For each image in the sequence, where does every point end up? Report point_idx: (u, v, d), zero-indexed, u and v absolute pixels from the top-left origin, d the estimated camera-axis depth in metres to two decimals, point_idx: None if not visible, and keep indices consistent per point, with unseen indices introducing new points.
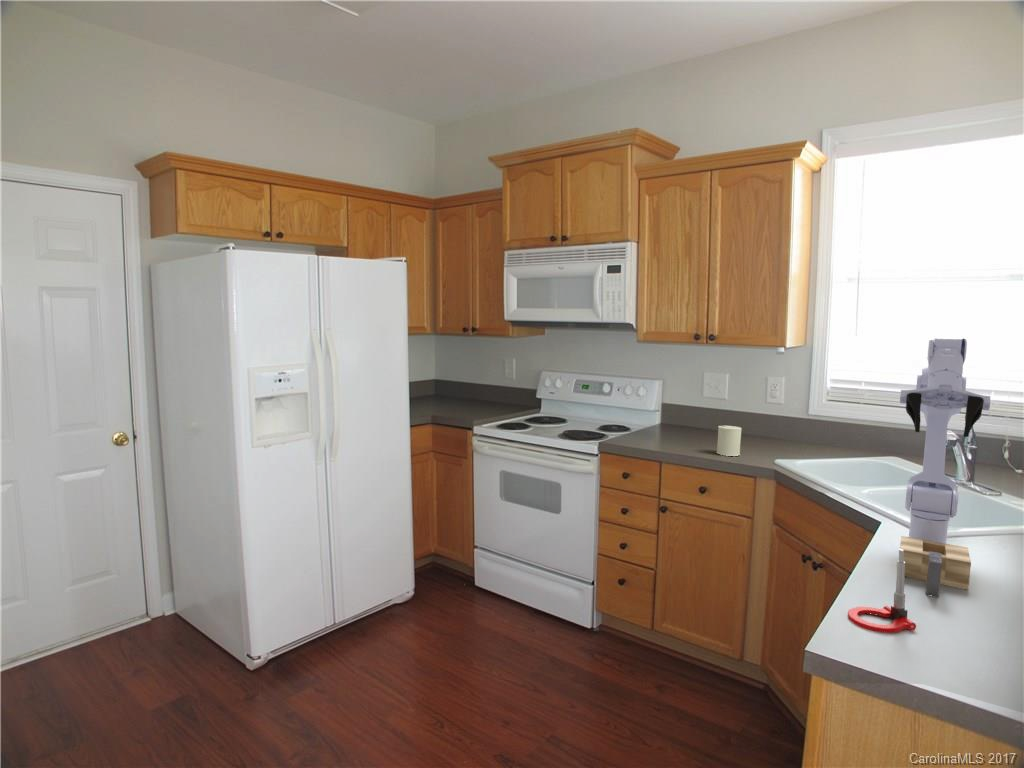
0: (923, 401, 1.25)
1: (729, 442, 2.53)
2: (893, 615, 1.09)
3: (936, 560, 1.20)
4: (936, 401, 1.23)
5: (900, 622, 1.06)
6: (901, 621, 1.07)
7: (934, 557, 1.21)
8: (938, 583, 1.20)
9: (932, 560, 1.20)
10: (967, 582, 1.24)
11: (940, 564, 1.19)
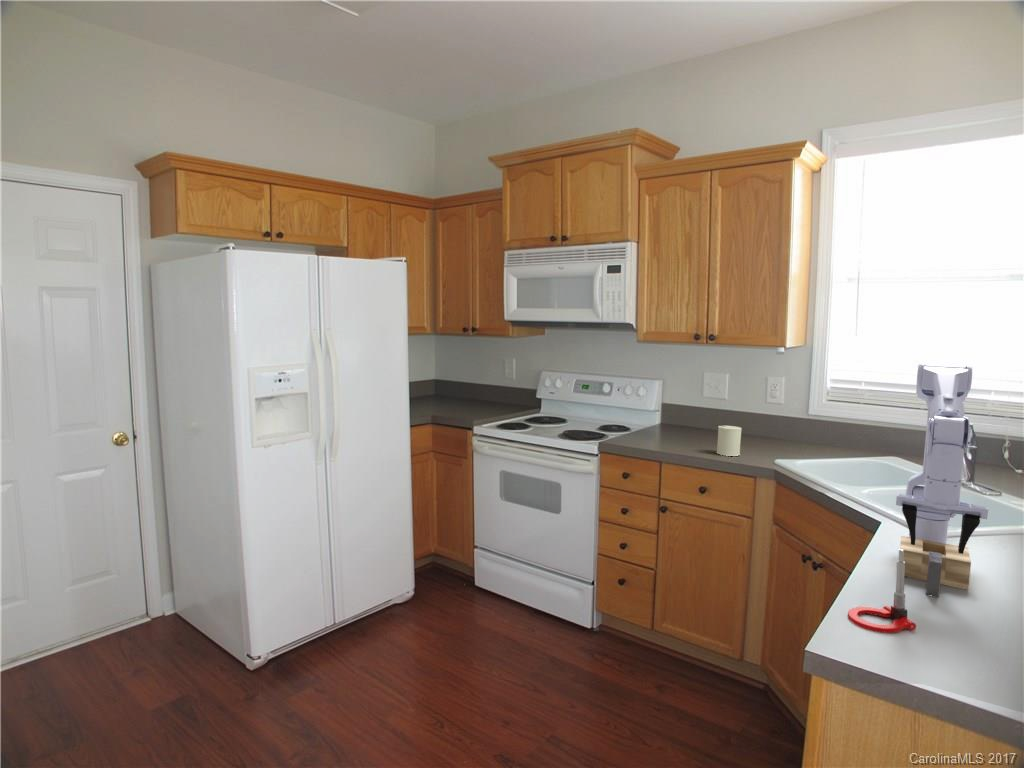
0: None
1: (729, 442, 2.53)
2: (893, 615, 1.09)
3: (936, 560, 1.20)
4: (932, 509, 1.21)
5: (900, 622, 1.06)
6: (901, 621, 1.07)
7: (934, 557, 1.21)
8: (938, 583, 1.20)
9: (932, 560, 1.20)
10: (967, 582, 1.24)
11: (940, 564, 1.19)
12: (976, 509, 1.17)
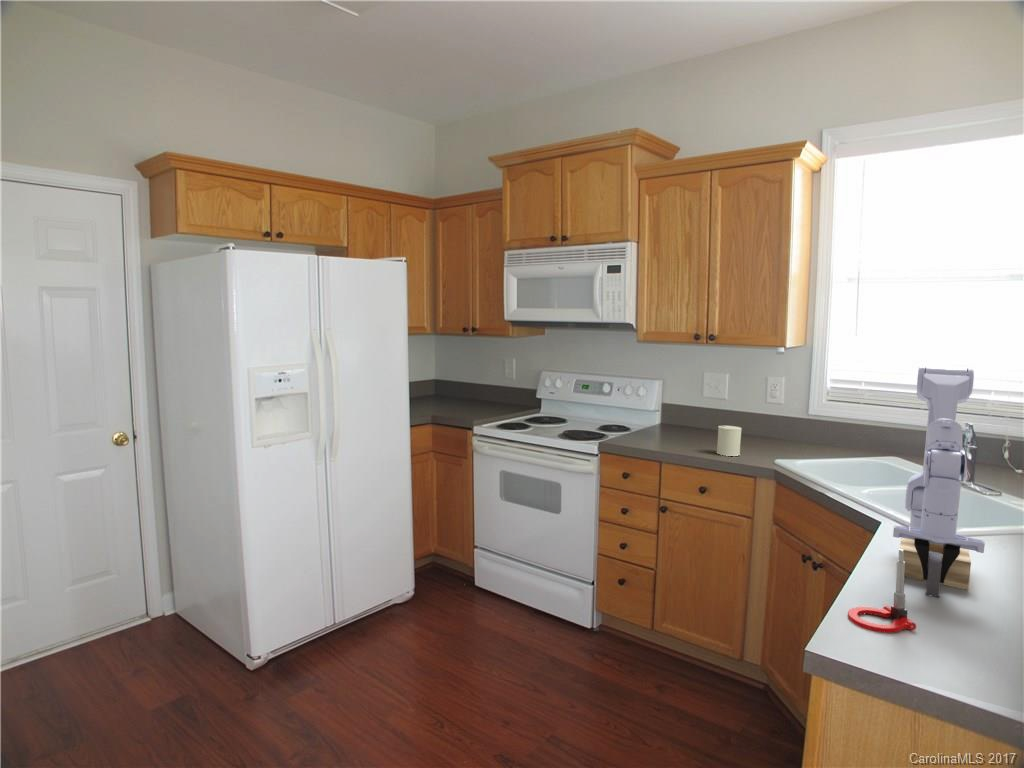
0: None
1: (729, 442, 2.53)
2: (893, 615, 1.09)
3: (936, 560, 1.20)
4: (929, 541, 1.22)
5: (900, 622, 1.06)
6: (901, 621, 1.07)
7: (934, 557, 1.21)
8: (938, 583, 1.20)
9: (932, 560, 1.20)
10: (967, 582, 1.24)
11: (940, 564, 1.18)
12: (973, 543, 1.17)
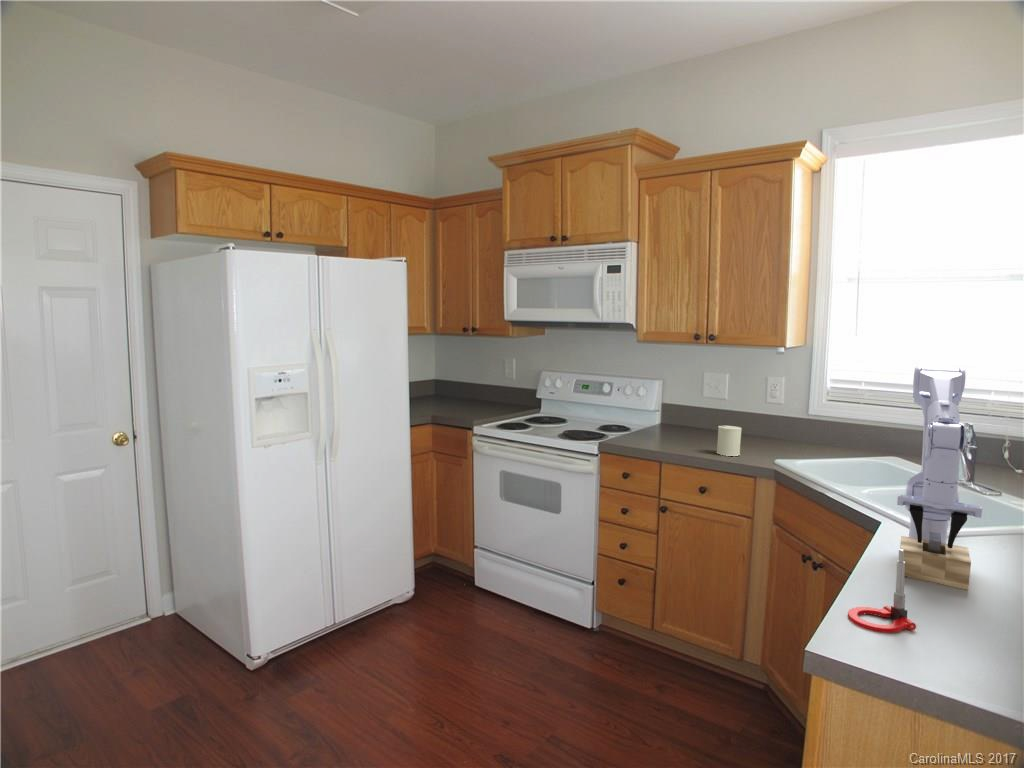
0: None
1: (729, 442, 2.53)
2: (893, 615, 1.09)
3: (936, 539, 1.29)
4: (931, 508, 1.31)
5: (900, 622, 1.06)
6: (901, 621, 1.07)
7: (934, 537, 1.31)
8: None
9: (932, 539, 1.29)
10: (967, 582, 1.24)
11: (939, 543, 1.28)
12: (971, 508, 1.27)
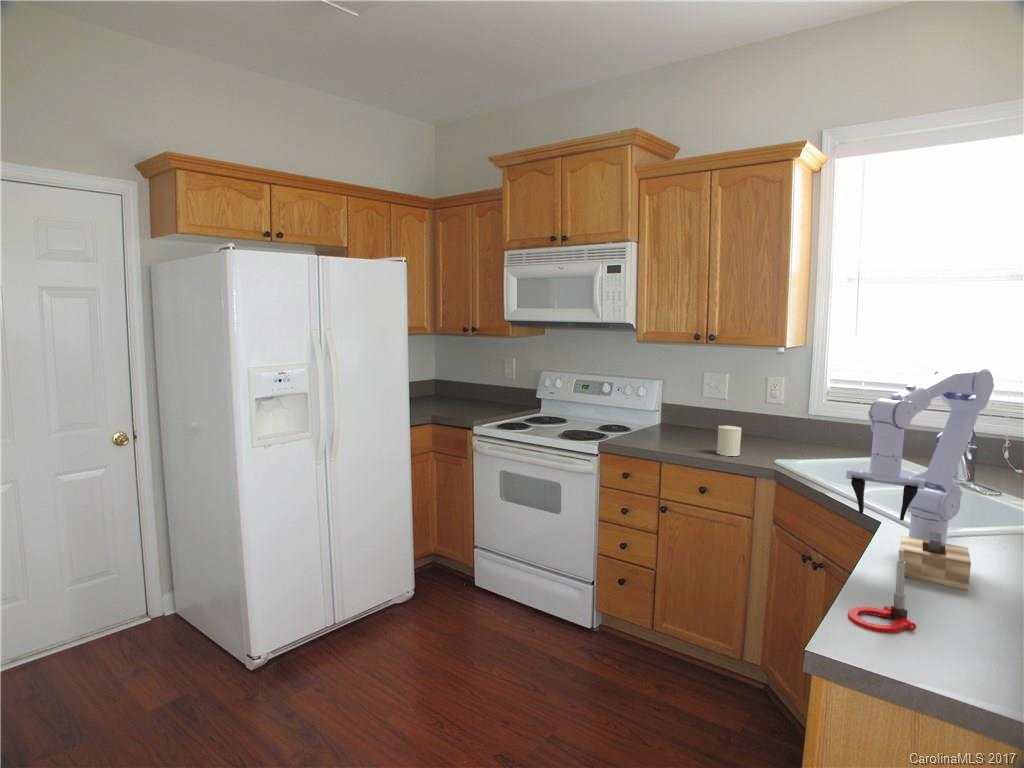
0: None
1: (729, 442, 2.53)
2: (893, 615, 1.09)
3: (936, 539, 1.29)
4: (877, 481, 1.37)
5: (900, 622, 1.06)
6: (901, 621, 1.07)
7: (934, 537, 1.31)
8: None
9: (932, 539, 1.29)
10: (967, 582, 1.24)
11: (939, 543, 1.28)
12: (914, 480, 1.32)
